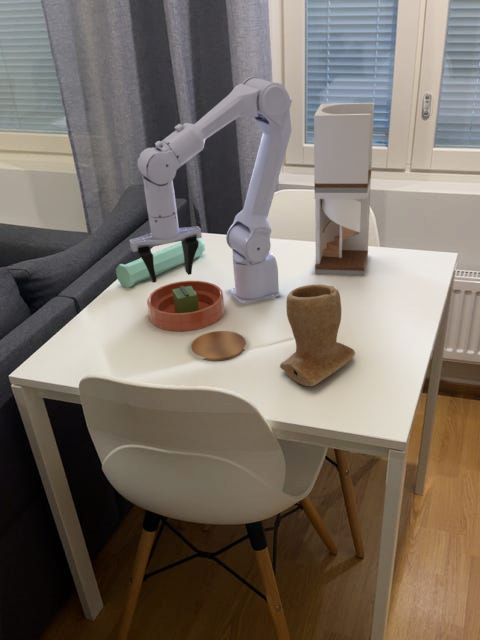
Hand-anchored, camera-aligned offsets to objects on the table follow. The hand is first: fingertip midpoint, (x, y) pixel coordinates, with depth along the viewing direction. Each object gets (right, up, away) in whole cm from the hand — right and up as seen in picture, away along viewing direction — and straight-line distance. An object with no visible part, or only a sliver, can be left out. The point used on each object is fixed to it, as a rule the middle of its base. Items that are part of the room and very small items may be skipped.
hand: (171, 276), depth 146 cm
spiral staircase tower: (+39, +7, +21) cm, 45 cm away
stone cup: (+28, -20, -15) cm, 38 cm away
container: (-4, +7, +26) cm, 28 cm away
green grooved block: (+3, -7, +5) cm, 9 cm away
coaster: (+10, -15, -6) cm, 20 cm away
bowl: (+3, -7, +6) cm, 10 cm away
